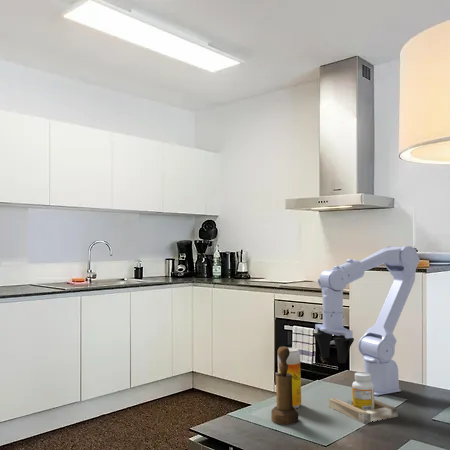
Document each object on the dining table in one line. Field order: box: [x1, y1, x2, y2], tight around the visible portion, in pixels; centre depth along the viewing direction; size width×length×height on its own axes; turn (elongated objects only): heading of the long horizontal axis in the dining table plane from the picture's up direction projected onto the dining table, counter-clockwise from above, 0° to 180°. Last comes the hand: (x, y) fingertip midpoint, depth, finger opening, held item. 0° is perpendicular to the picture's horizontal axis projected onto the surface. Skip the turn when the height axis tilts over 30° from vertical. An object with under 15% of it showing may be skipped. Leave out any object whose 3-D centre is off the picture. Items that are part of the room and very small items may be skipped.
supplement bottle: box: [351, 371, 375, 411], centre depth 126 cm, size 5×5×10 cm
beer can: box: [277, 347, 302, 409], centre depth 132 cm, size 6×6×15 cm
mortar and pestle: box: [271, 345, 299, 426], centre depth 121 cm, size 7×6×18 cm
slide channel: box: [328, 397, 398, 424], centre depth 126 cm, size 10×14×2 cm
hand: (333, 360), depth 139 cm, fingers open, 7 cm apart
